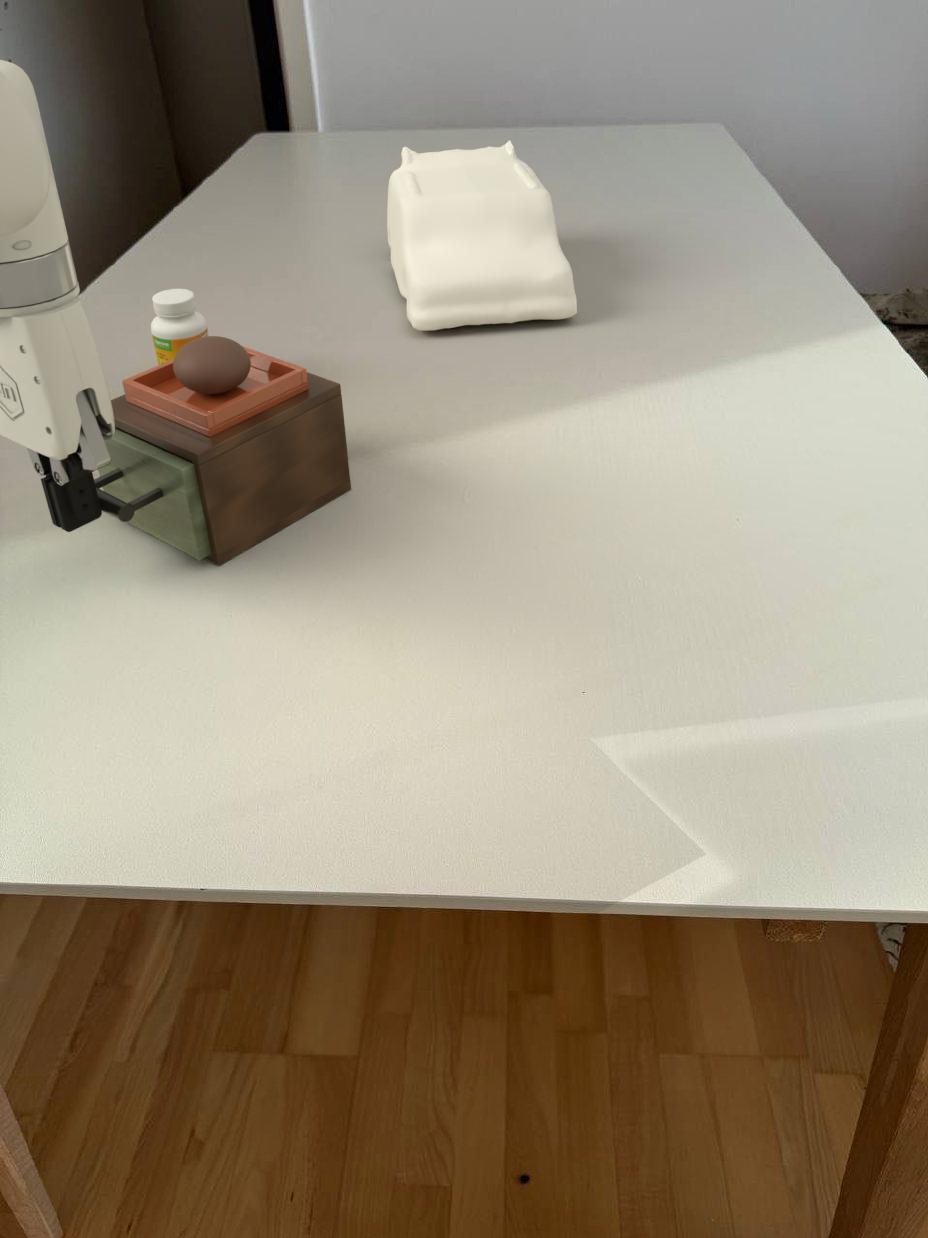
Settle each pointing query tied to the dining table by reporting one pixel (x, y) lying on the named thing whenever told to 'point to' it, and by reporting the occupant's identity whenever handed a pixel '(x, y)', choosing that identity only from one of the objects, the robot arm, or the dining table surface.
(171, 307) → the supplement bottle
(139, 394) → the orange square tray
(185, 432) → the cabinet
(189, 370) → the egg
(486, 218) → the flour sack
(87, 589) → the dining table surface
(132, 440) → the drawer
